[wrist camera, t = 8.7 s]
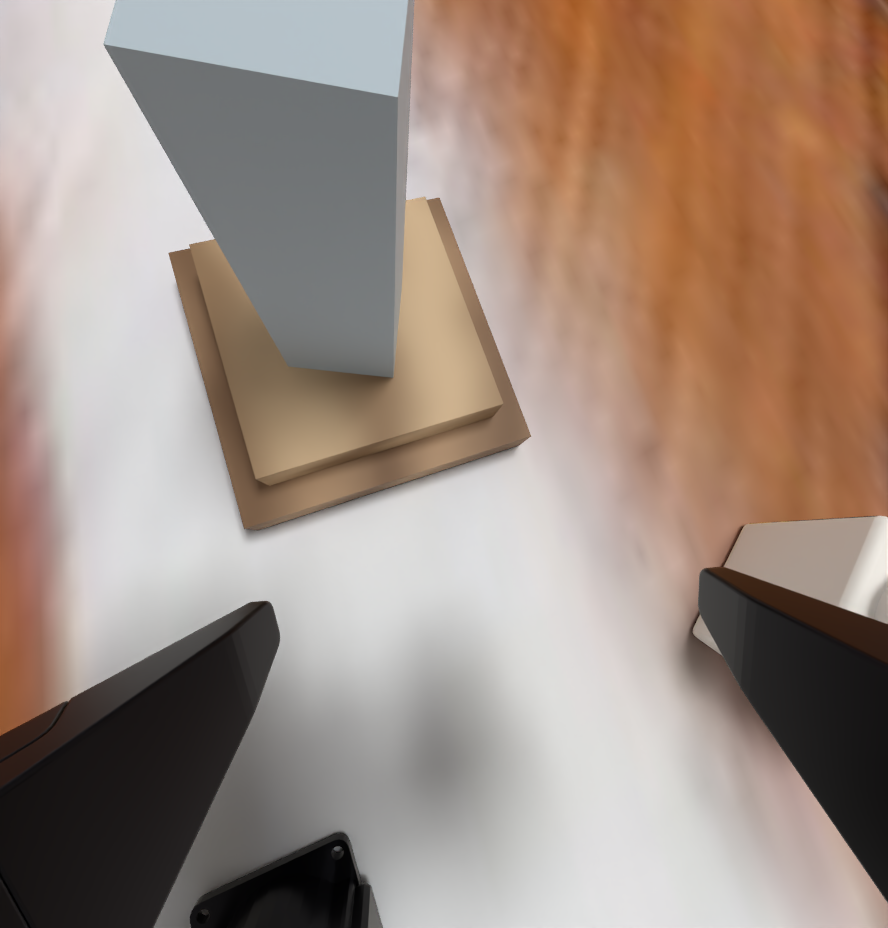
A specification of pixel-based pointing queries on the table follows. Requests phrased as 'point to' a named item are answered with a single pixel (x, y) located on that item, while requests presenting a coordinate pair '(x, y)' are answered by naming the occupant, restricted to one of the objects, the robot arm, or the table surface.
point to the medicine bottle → (817, 562)
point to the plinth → (362, 471)
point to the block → (288, 154)
